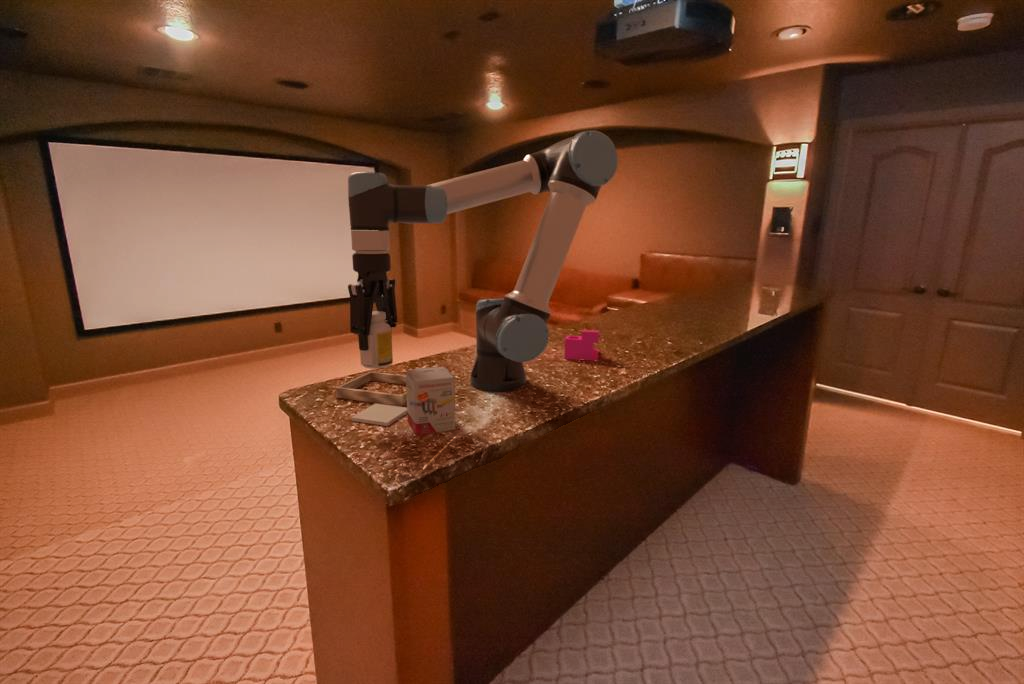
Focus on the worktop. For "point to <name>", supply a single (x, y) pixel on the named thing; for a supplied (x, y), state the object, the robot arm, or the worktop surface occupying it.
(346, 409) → the worktop surface
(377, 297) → the robot arm
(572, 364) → the worktop surface
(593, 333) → the magenta stepped block
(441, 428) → the ink box
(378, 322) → the pill bottle
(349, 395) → the corral
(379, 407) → the coaster
